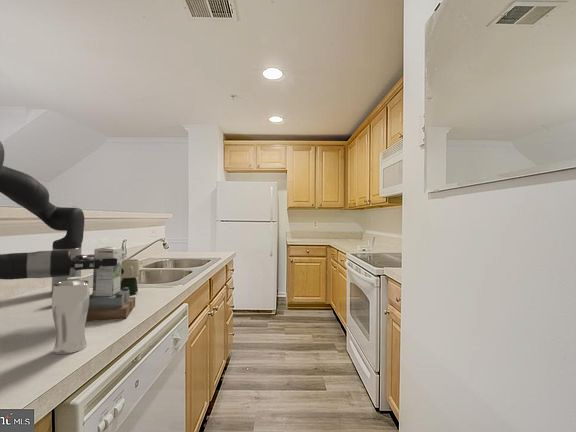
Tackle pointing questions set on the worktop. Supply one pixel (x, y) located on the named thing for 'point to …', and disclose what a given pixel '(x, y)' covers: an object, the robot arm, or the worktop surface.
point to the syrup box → (107, 272)
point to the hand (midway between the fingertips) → (115, 260)
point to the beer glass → (70, 315)
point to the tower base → (111, 312)
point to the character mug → (130, 274)
